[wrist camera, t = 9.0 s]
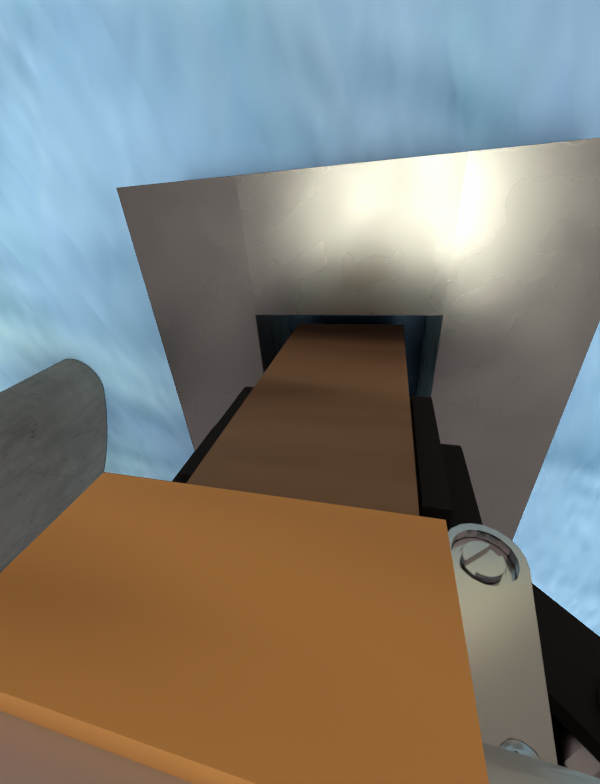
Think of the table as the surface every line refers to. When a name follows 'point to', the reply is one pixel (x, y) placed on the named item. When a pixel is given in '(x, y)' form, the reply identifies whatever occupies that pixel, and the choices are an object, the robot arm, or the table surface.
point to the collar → (392, 286)
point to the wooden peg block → (259, 595)
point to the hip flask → (48, 449)
